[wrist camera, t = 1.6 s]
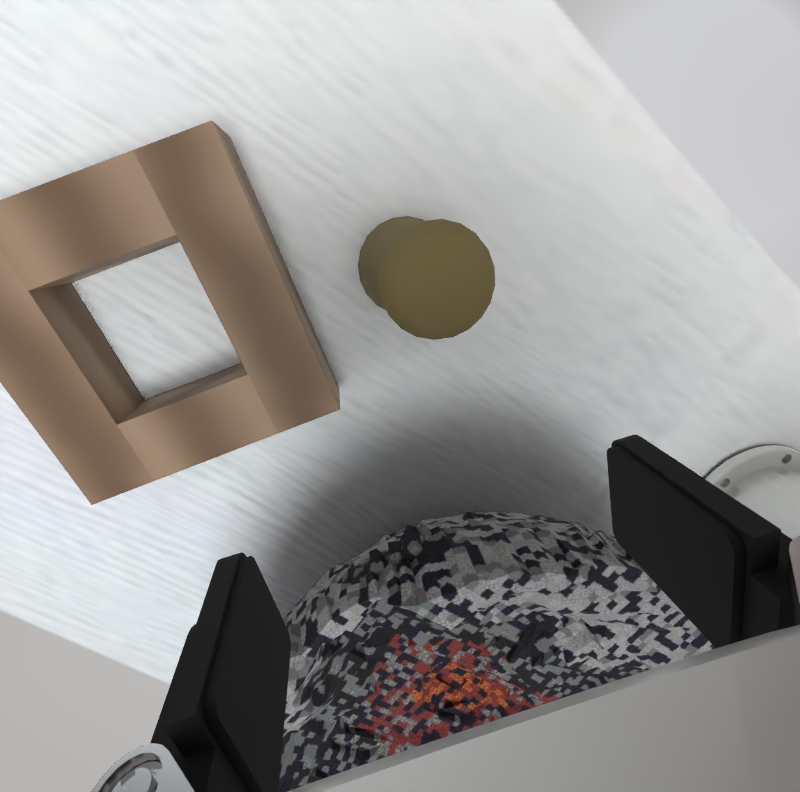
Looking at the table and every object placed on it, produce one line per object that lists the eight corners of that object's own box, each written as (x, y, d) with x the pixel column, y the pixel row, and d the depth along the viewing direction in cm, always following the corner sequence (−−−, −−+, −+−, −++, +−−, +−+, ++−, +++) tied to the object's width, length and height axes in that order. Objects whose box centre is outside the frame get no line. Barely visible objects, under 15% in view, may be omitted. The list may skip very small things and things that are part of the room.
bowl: (177, 651, 37) (82, 909, 23) (417, 349, 31) (487, 446, 17) (460, 762, 46) (514, 989, 33) (681, 549, 41) (864, 716, 27)
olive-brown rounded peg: (345, 296, 29) (352, 330, 19) (376, 200, 27) (403, 181, 17) (430, 326, 30) (480, 373, 20) (465, 237, 29) (539, 240, 18)
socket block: (229, 137, 25) (211, 120, 21) (339, 388, 31) (339, 409, 27) (-40, 239, 25) (-106, 240, 21) (120, 472, 31) (91, 504, 27)
